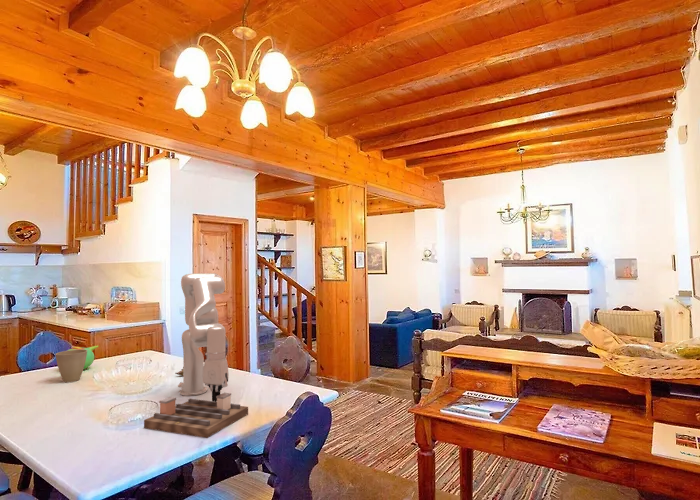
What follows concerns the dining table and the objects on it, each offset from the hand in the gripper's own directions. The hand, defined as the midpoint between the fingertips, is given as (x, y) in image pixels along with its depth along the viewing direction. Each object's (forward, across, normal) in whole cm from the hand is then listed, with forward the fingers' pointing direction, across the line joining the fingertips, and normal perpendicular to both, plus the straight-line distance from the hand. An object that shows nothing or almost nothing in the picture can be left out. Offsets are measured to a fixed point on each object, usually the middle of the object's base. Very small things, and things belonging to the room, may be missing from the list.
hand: (216, 400), depth 173 cm
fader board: (+7, -4, -6) cm, 10 cm away
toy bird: (+7, -136, +41) cm, 143 cm away
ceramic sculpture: (+7, -60, +53) cm, 80 cm away
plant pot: (+7, -115, +21) cm, 117 cm away
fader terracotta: (+3, -14, -12) cm, 19 cm away
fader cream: (+3, +4, 0) cm, 5 cm away
